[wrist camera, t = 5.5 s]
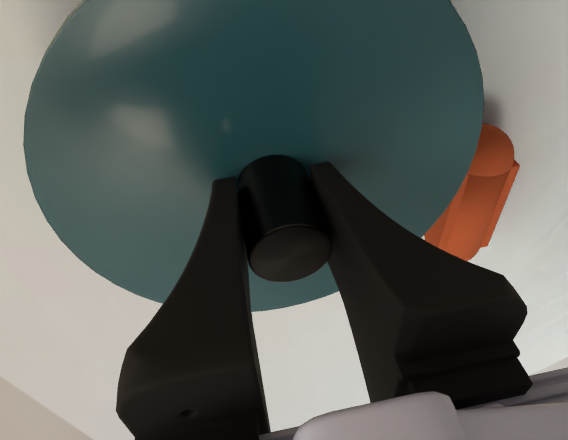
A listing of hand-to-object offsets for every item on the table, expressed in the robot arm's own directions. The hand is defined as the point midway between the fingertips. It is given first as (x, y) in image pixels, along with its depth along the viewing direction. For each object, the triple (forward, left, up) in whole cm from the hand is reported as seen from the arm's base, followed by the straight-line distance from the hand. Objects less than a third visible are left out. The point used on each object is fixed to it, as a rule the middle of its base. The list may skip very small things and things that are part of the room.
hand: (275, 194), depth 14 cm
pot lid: (0, 0, -1) cm, 1 cm away
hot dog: (-12, -2, -6) cm, 13 cm away
